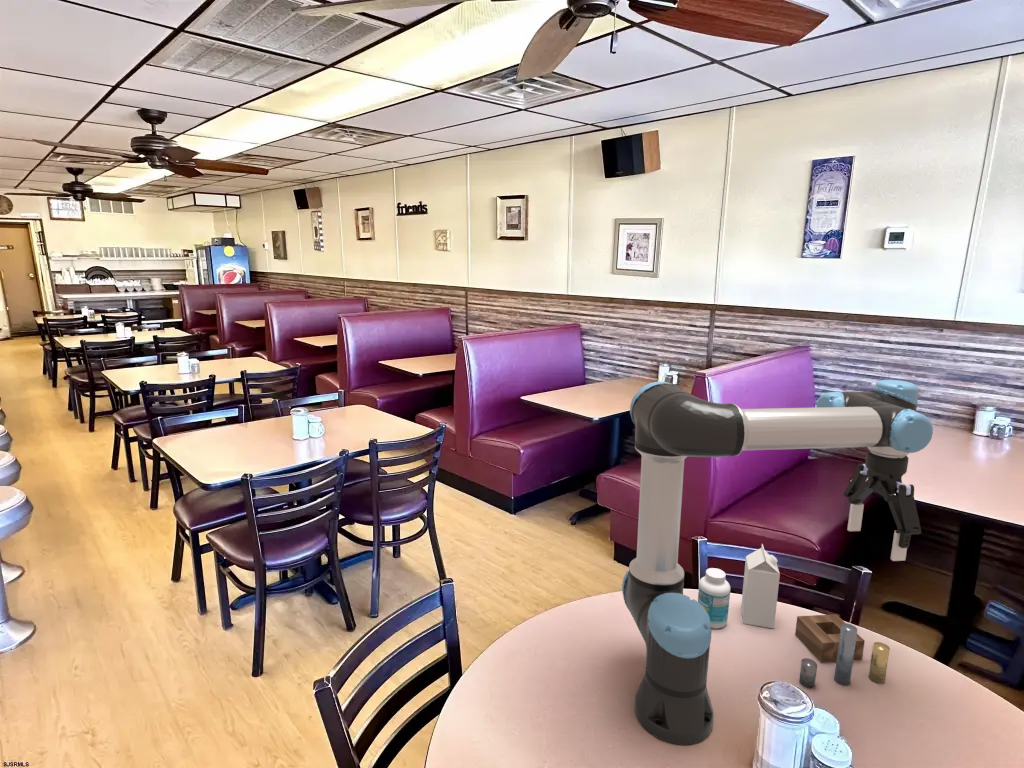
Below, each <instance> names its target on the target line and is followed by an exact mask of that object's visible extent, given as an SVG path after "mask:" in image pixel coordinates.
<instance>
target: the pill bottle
mask: <svg viewBox="0 0 1024 768" xmlns="http://www.w3.org/2000/svg"><path fill="white" fill-rule="evenodd" d="M726 575H727V574H726V572H725V571H723V570H722V569H720V568H714V567H710V568H707V569H705V576H703V577H701V578H700V579H699V582H698V595H697V602H699V603H700V604H701V605H702V606H703V607H704V608H705V610H706V611H707V613H708V615H709V618H710V622H711V629H717V630H718V629H723V628H725V627H726V626H727V624H728V620H729V609H730V608H729V607H730V597H731V585H730V583H729V582H728V581H727V579H726V578H727V577H726Z"/></svg>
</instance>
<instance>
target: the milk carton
mask: <svg viewBox="0 0 1024 768" xmlns="http://www.w3.org/2000/svg"><path fill="white" fill-rule="evenodd" d="M777 563H779V562H778V558H777V557H775V555H773V554H769V552H767V551H766V550H765V548H764V544H763V543H761V547H760V548H758V549H756V550H754V551H753V552H751V553H749V554H747V555H745V565H744V574H743V583H742V584H743V585H742V595H741V596H742V597H741V605H740V610H741V617H742V622H743V624H744V625H751V626H756V627H762V628H768V629H775V623H776V613H777V606H778V605H777V604H778V595H779V594H778V593H779V588H780V587H779V585H780V578H781V577H780V576H781V574H780V570H779V567H778V564H777Z"/></svg>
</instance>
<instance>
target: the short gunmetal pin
mask: <svg viewBox="0 0 1024 768" xmlns="http://www.w3.org/2000/svg"><path fill="white" fill-rule="evenodd" d="M800 662H801V663H800V670H799V679H798V683H799V685H801V686H802V687H804V688H806V689H814V688H815V686H816V679H817V671H818V670H817V669H818V663H817V662H816V661H815V660H813V659H810V658H807V657H805V658H802V659H801V660H800Z"/></svg>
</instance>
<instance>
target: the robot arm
mask: <svg viewBox="0 0 1024 768" xmlns="http://www.w3.org/2000/svg"><path fill="white" fill-rule="evenodd" d="M918 400H919V388H918V386H917V385H916V384H914V383H913V382H909V381H905V380H900V379H899V380H897V379H882V380H879V381H876V383H875V387H874V390H871V391H840V390H837V391H831V392H829V391H828V392H825V393H823V394H821V395H820V396H819V397H818V399H817V402H816V407H782V408H781V407H780V408H779V407H775V408H774V407H772V408H771V407H769V408H767V407H766V408H740V406H739V405H737V404H736V403H719V402H718V403H717V402H713V401H709V400H706V399H702V398H700V397H697V396H695V395H693V394H691V393H689V392H688V391H686V390H684V389H683V388H682V387H680V385H678V384H674V383H671V382H666V381H653V382H650V383H648V384H645V385H644V386H642V387H641V388H639V390H637V391H636V393H635V394H634V395H633V397H632V399H631V402H630V407H629V414H630V417H631V422H632V423H633V424H634V426H635V432H634V433H635V435H634V448H635V450H636V452H637V453H639V454H640V455H641V460H640V462H641V465H640V481H639V482H640V483H639V500H638V501H639V503H638V522H637V523H638V524H637V540H636V542H637V545H636V557H635V558H633V559H632V560H631V561H630V563H629V564H628V565H629V566H628V571H626V572H625V574H624V577H623V579H622V584H621V591H622V592H621V593H622V596H623V601H624V604H625V606H626V608H627V609H628V612H629V613H630V615H631V617H632V619H633V621H634V622H635V625H636V627H637V629H638V630H639V632H640V634H641V637H642V638H643V641H644V644H645V646H646V652H645V653H646V654H645V655H646V656H645V658H646V659H645V673H644V675H643V677H642V679H641V681H640V683H639V686H638V688H637V690H636V692H635V695H634V712H635V717H636V718H637V720H638V722H639V724H640V725H641V726H642V728H644V729H645V730H646V731H647V732H648V733H650V734H651V735H653V736H654V737H655V738H657V739H659V740H661V741H663V742H667V743H670V744H675V745H685V746H686V745H693V744H696V743H699V742H702V741H704V740H705V739H707V738H708V736H709V735H710V734H711V733H712V730H713V726H714V709H713V705H712V702H711V698H710V694H709V690H708V687H707V682H708V681H707V680H708V671H709V661H710V660H709V658H710V649H711V648H710V647H711V643H712V630H711V629H712V628H711V622H710V618H709V615H708V613H707V611H706V610H705V608H704V607H703V606H702V605H701V604H700V603H699V602H698V600H696V599H694V598H693V599H691V598H690V596H688V595H686V594H684V585H685V583H684V581H685V571H684V568H683V567H682V566H681V565H680V564H679V563H678V561H679V560H678V559H679V546H680V545H679V543H680V533H681V532H680V531H681V516H682V515H681V514H682V502H683V501H682V500H683V485H684V470H685V460H686V459H687V458H688V457H690V458H691V457H692V458H694V457H695V458H724V457H738V456H739V455H741V453H743V451H765V450H766V451H768V450H770V451H771V450H773V451H774V450H797V449H798V450H800V449H801V450H803V449H804V450H805V449H806V450H807V449H841V448H843V449H845V448H867V449H868V450H867V451H866V453H865V454H866V456H865V462H864V463H859V464H857V465H856V471H855V473H854V475H853V477H852V478H851V479H850V481H849V483H848V484H847V486H846V488H845V490H844V491H843V496H844V497H845V498H847V499H848V502H849V505H848V523H847V529H846V530H847V531H848V532H861V530H862V529H861V528H862V524H863V523H862V521H863V513H864V507H865V504H864V503H863V502H864V500H866V498H868V497H869V496H871V494H873V493H877V494H878V495H879V496H881V497H883V499H884V501H885V502H887V503H888V506H889V509H890V512H891V514H892V517H893V519H894V523H895V524H896V527H897V530H894V533H893V540H892V545H891V546H892V547H891V553H890V560H891V561H892V562H901V561H904V562H905V561H906V560H907V559H906V558H907V551H908V549H909V547H910V543H911V538H912V535H921V534H922V528H921V523H920V518H919V514H918V513H919V512H918V509H917V504H916V501H915V500H916V499H915V485H914V484H912V483H911V484H910V483H909V484H906V483H903V480H902V479H903V476H904V475H905V474H906V473H907V472H908V466H909V456H908V455H909V454H915V453H918V452H920V451H922V450H924V449H925V448H926V447H927V446H928V445H929V443H930V442H931V440H932V438H933V434H934V427H933V423H932V422H931V420H930V419H929V418H928V417H927V416H926V415H924V414H923V413H920V412H918V411H917V408H918V402H919V401H918Z"/></svg>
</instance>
